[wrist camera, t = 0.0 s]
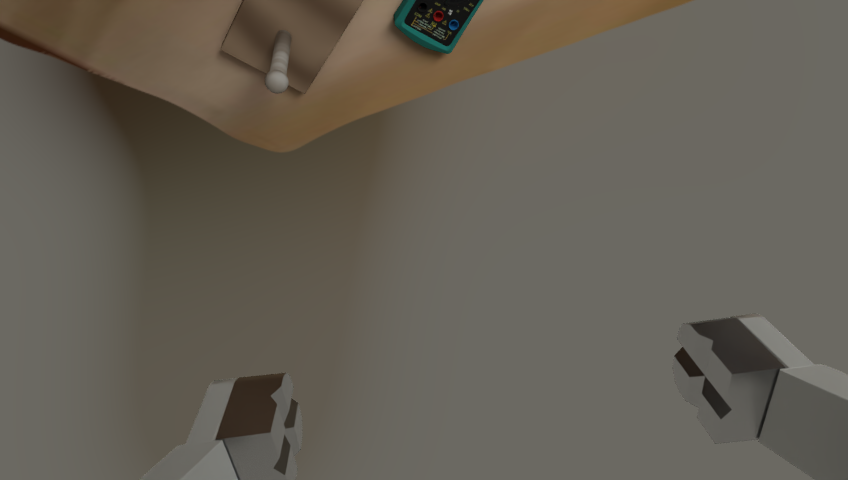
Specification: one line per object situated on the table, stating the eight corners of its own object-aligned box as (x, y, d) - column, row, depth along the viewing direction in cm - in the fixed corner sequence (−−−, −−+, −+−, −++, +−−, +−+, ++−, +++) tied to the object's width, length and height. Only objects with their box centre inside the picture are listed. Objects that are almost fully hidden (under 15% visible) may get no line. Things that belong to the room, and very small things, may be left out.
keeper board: (318, -159, 46) (312, -123, 38) (411, -85, 51) (423, -40, 43) (222, 43, 58) (203, 101, 50) (305, 87, 63) (299, 146, 55)
